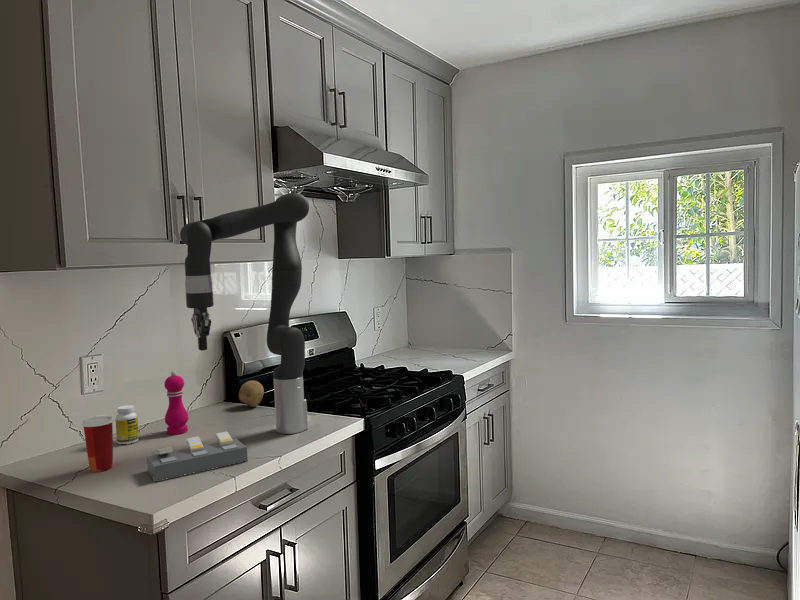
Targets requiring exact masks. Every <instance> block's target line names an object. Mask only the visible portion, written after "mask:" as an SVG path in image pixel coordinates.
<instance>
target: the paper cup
mask: <svg viewBox="0 0 800 600" xmlns="http://www.w3.org/2000/svg"><path fill="white" fill-rule="evenodd" d="M113 423H114V419H113V417H112V415H110V414H98V415H97V414H96V415H92V416H88V417H85V418H84V419H83V421H82V423H81V426H82V427H83V433H84V434H83V435H84V440H85V445H86V453H87V454H86V455H87V460H88V467H89V471H90V472H92V473H101V472H100V471H102V472H106V471H108V469H109V470H111V469H112V468H113V466H114V463H113V462H114V445H113V444H114V442H113V441H114V440H113V438H114V437H113V436H114V435H113V428H114V427H113ZM110 468H111V469H110ZM105 470H106V471H105Z"/></svg>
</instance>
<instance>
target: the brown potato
mask: <svg viewBox="0 0 800 600" xmlns="http://www.w3.org/2000/svg"><path fill="white" fill-rule="evenodd" d="M264 389H265V388H264V386H263V384H262V383H260V382H259V381H257V380H248V381H246V382H244V383H243V384H242V385H241V386H240V389H239V392H238V399H239V401H240V402H241V403H243V404H245V405H248V407H250V408H251V407H252V408H254V407H257V406H258V405H260V403H261V402H262V400H263V396H264V393H265V391H264Z"/></svg>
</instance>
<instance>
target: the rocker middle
mask: <svg viewBox="0 0 800 600" xmlns="http://www.w3.org/2000/svg"><path fill="white" fill-rule="evenodd" d="M186 444H187V446H188V448H189V449H190V451H191V453H193V452H198V451H203V450H204V446H203V445H204V444H203V443H202V440H201V438H200V436H198V435H197V436H193V437H188V438H186Z"/></svg>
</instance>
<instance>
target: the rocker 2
mask: <svg viewBox="0 0 800 600" xmlns="http://www.w3.org/2000/svg"><path fill="white" fill-rule="evenodd" d="M215 438H216V440H217V442H219V443H220V445H221V446H226V445H231V444H233V439H234V438H232V437H231V435H230V433H229V432H228V431H222V432H216V433H215Z"/></svg>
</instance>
